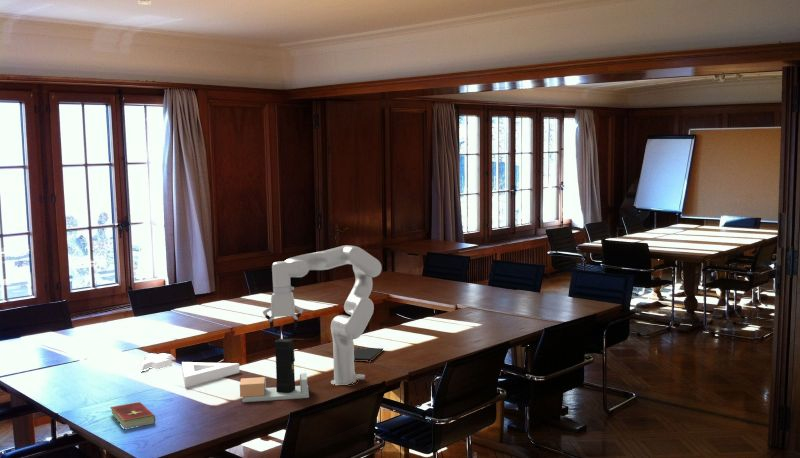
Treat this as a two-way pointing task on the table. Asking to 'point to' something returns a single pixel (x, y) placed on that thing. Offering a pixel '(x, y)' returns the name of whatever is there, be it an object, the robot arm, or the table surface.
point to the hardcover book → (133, 415)
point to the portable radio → (285, 365)
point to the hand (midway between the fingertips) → (284, 329)
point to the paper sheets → (156, 361)
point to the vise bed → (274, 395)
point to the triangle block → (206, 371)
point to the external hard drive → (366, 353)
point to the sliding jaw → (253, 387)
